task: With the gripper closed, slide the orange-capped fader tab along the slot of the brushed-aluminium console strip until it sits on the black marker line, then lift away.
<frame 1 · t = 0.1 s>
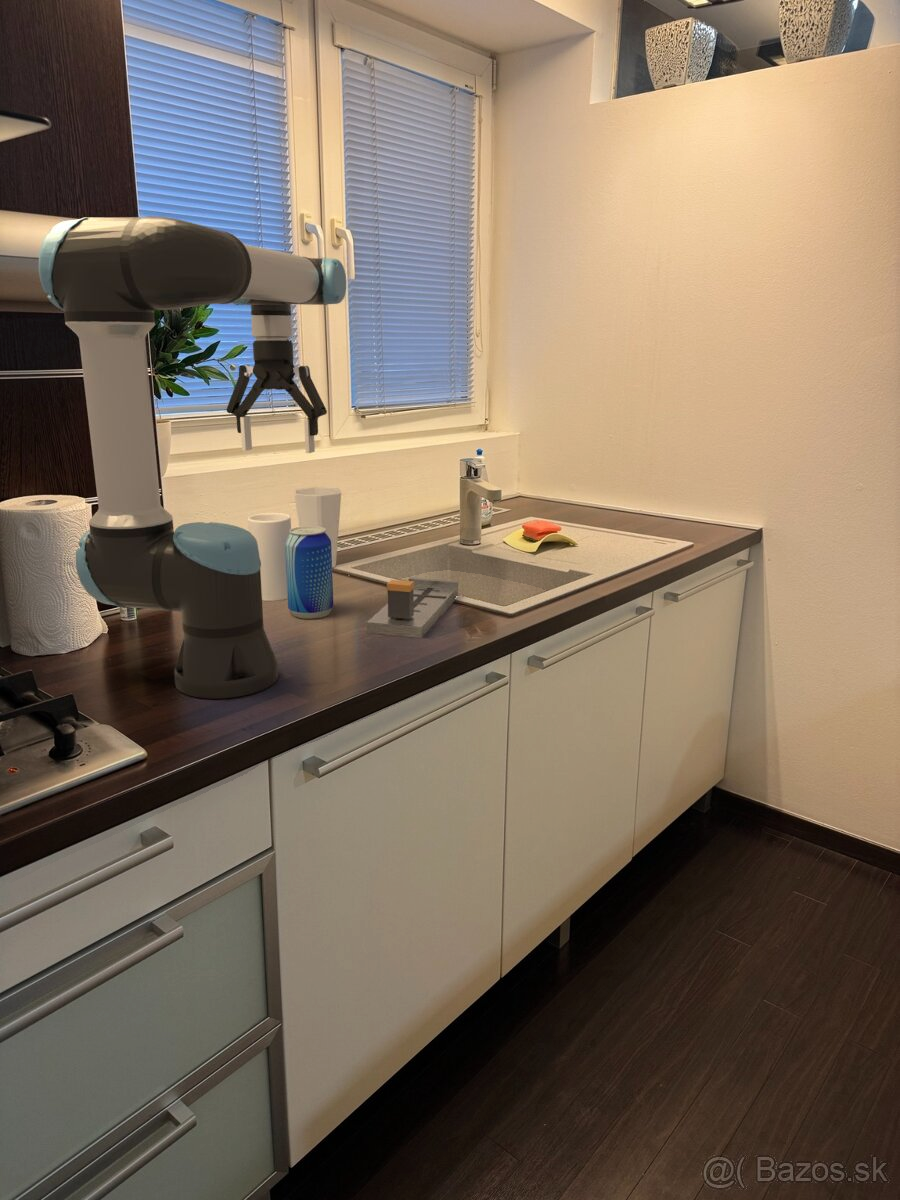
hand: (278, 451, 171), 28 cm above the worktop, fingers open, 13 cm apart
cup: (273, 596, 174), on the worktop
cup 2: (320, 566, 196), on the worktop
beer can: (311, 614, 163), on the worktop
console: (415, 613, 163), on the worktop
fader: (400, 599, 153), point 5 cm above the worktop, slide at 0.0 cm
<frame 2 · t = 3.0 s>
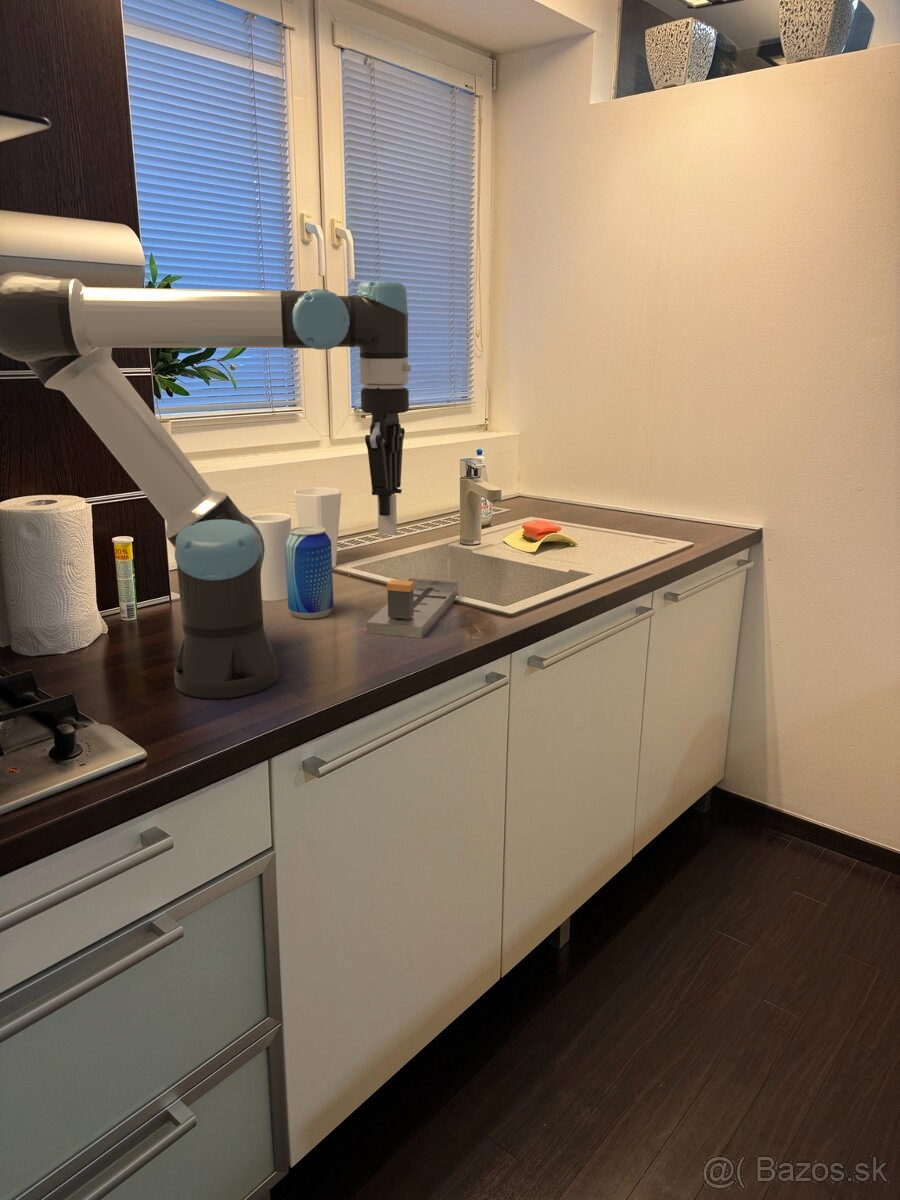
hand: (387, 533, 142), 19 cm above the worktop, fingers closed
nothing on the worktop moved.
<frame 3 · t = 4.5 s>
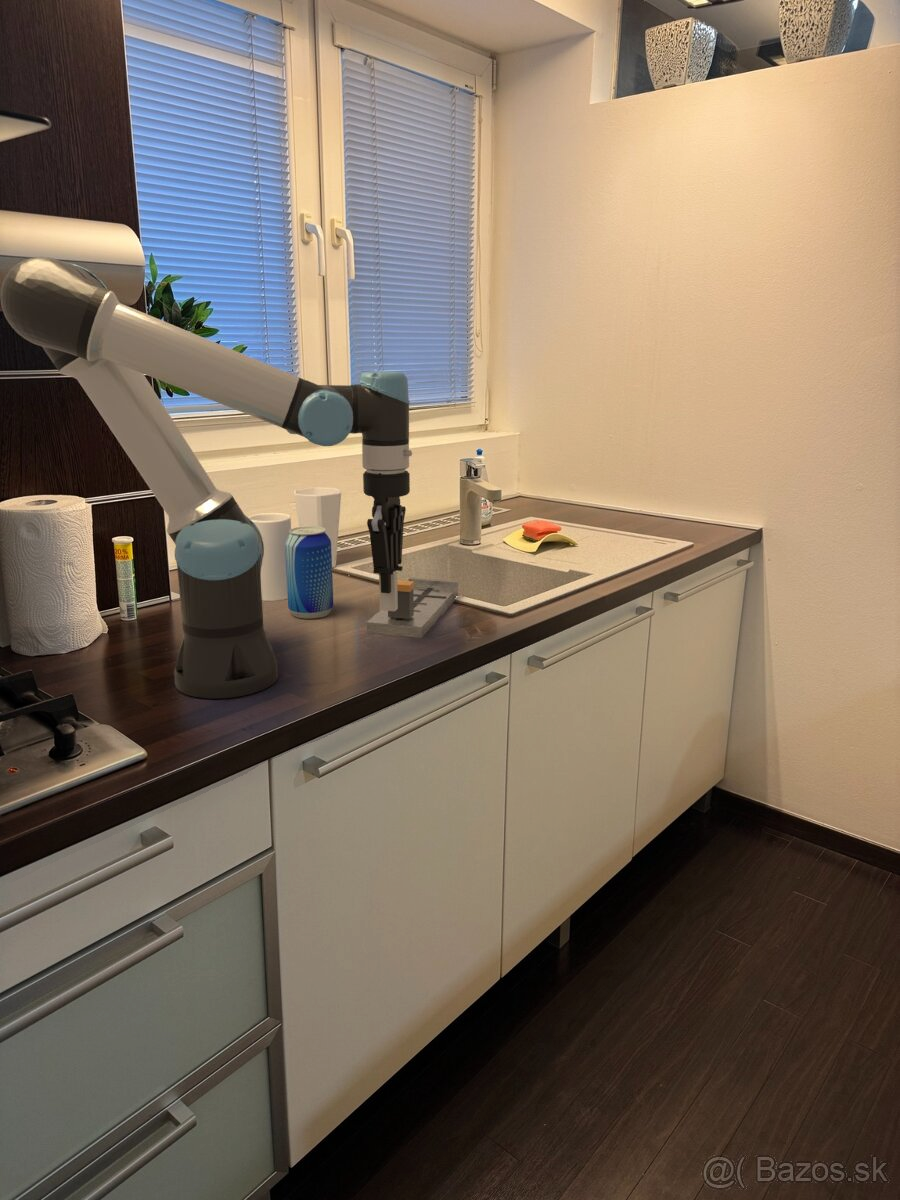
hand: (388, 609, 146), 6 cm above the worktop, fingers closed
nothing on the worktop moved.
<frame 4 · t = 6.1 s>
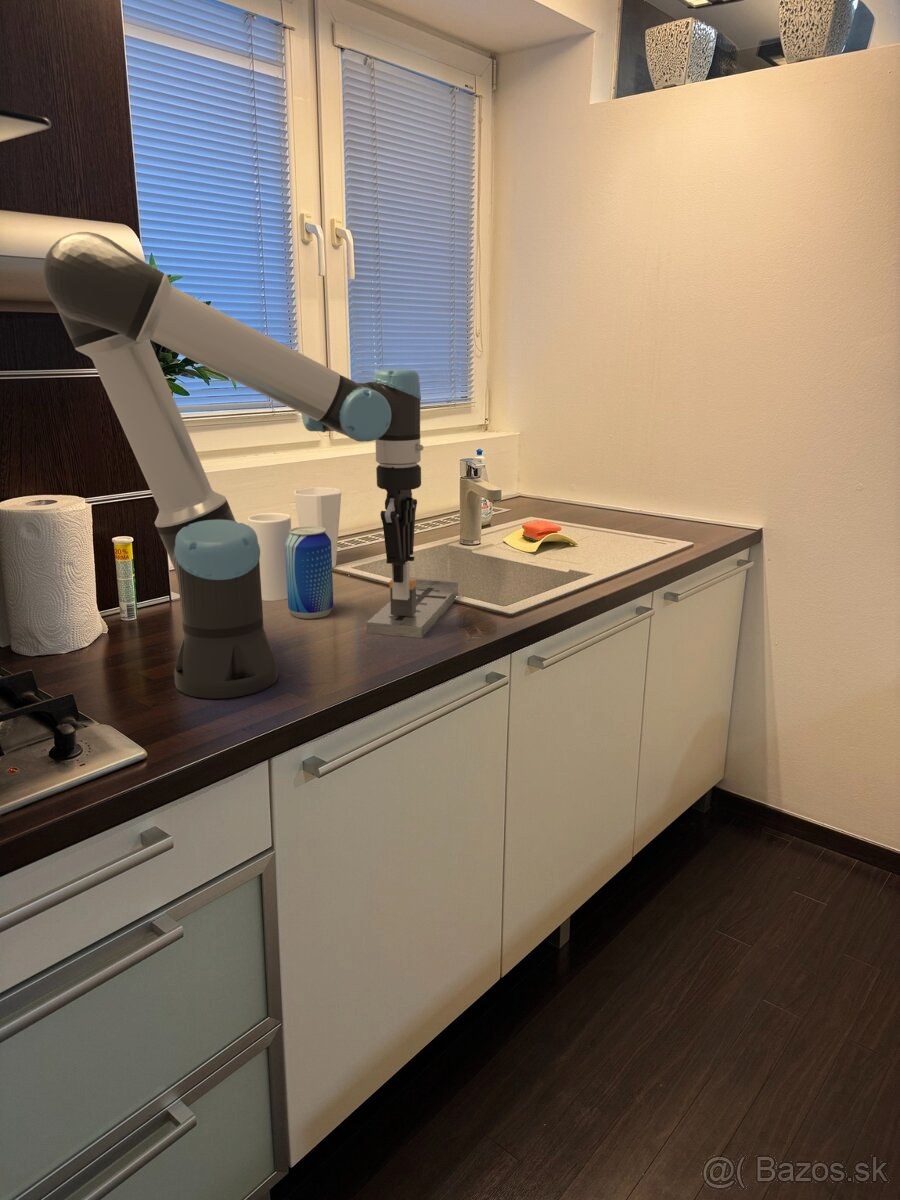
hand: (401, 598, 152), 6 cm above the worktop, fingers closed
fader: (403, 597, 154), point 5 cm above the worktop, slide at 1.5 cm, touching gripper
everything else where it was.
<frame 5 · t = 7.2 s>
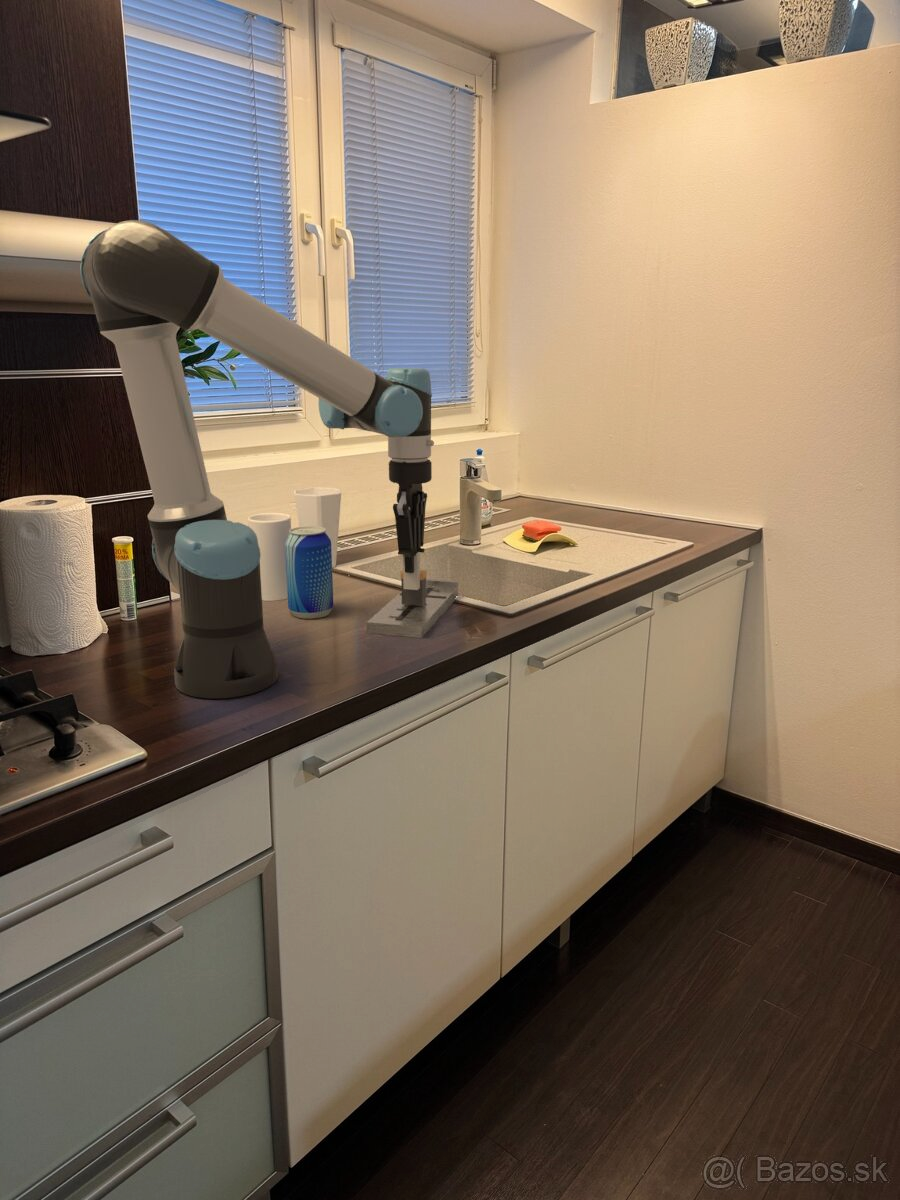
hand: (411, 588, 158), 6 cm above the worktop, fingers closed
fader: (413, 587, 160), point 5 cm above the worktop, slide at 8.0 cm, touching gripper
everything else where it was.
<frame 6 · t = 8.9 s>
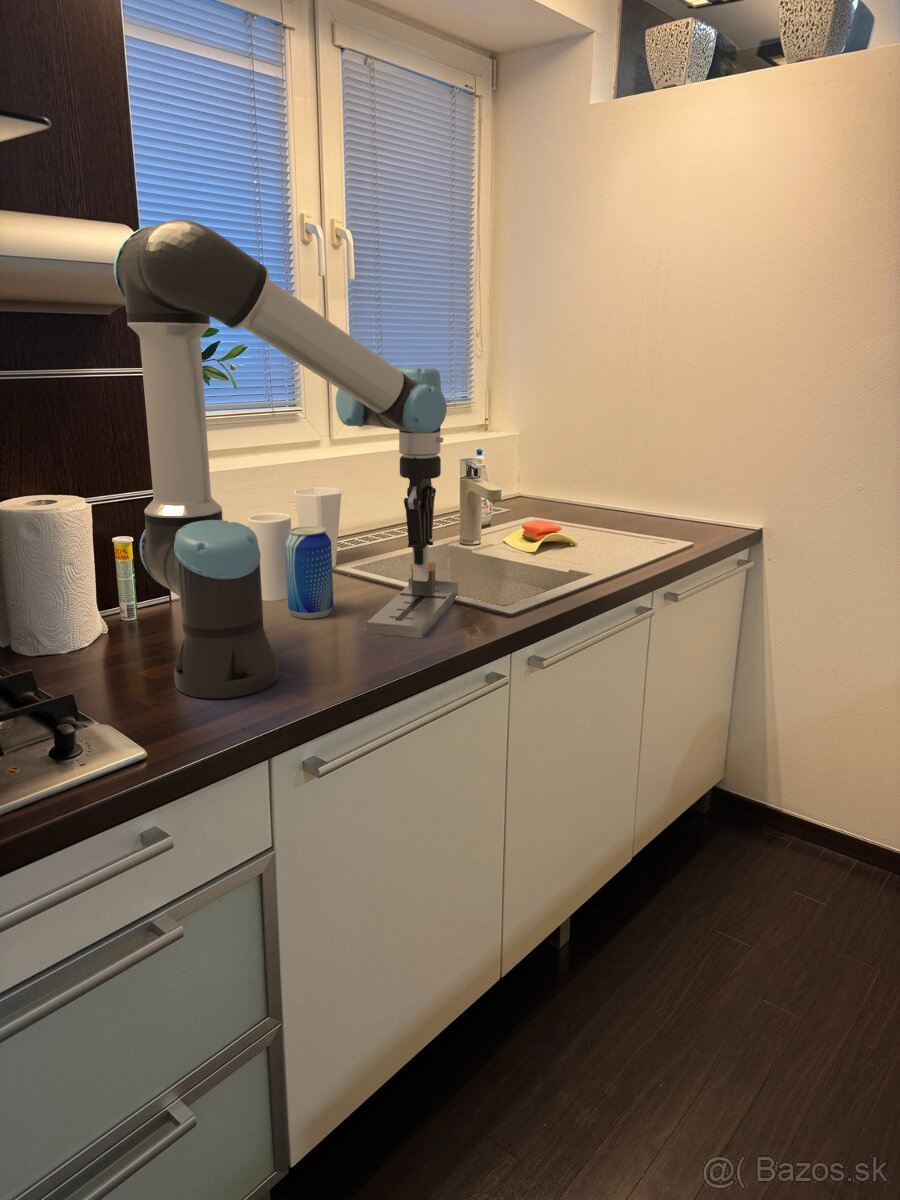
hand: (420, 579, 164), 6 cm above the worktop, fingers closed
fader: (423, 578, 166), point 5 cm above the worktop, slide at 14.4 cm, touching gripper
everything else where it was.
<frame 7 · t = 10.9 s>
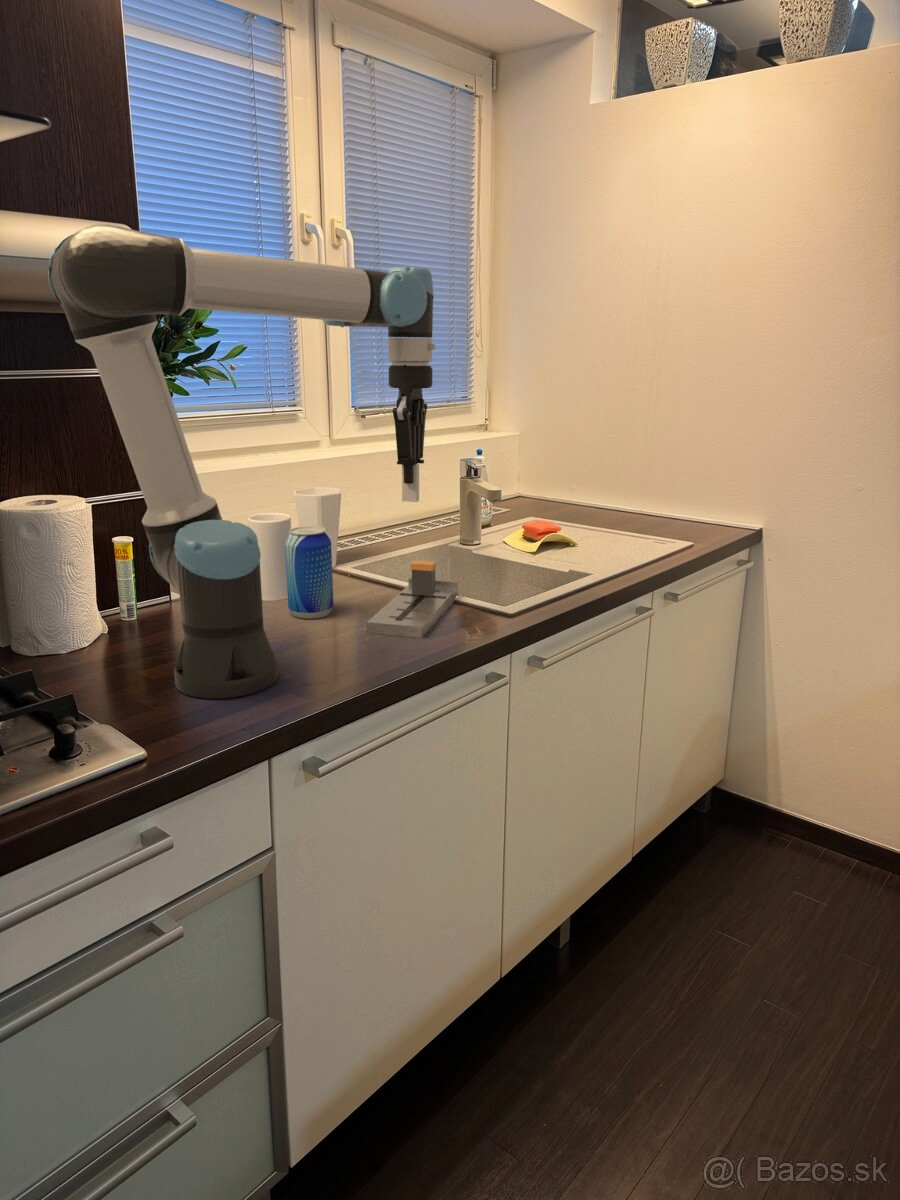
hand: (410, 500, 154), 22 cm above the worktop, fingers closed
fader: (423, 578, 166), point 5 cm above the worktop, slide at 14.5 cm
everything else where it was.
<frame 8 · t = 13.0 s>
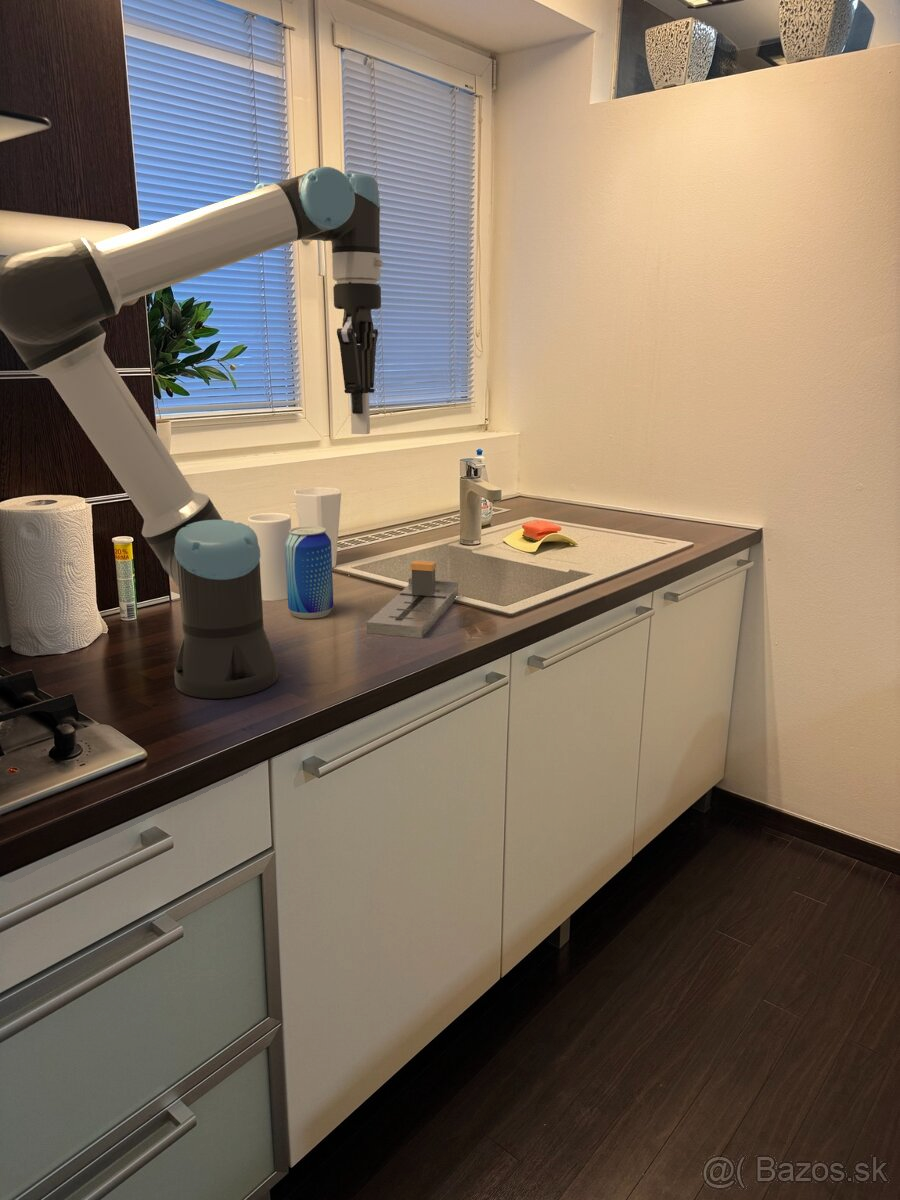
hand: (360, 433, 144), 34 cm above the worktop, fingers closed
nothing on the worktop moved.
at the end: fader slide at 14.5 cm; fader touching nothing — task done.
